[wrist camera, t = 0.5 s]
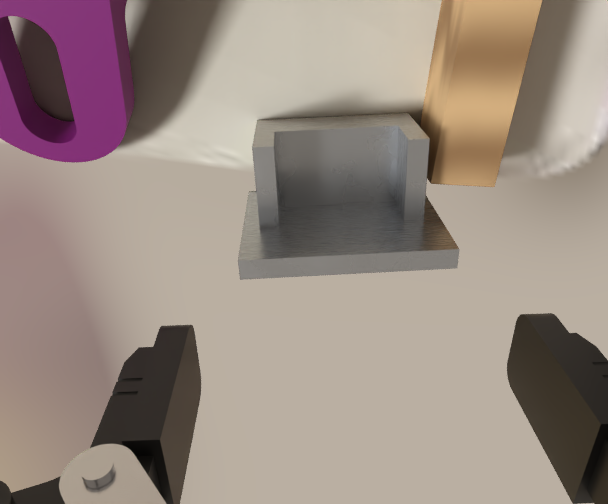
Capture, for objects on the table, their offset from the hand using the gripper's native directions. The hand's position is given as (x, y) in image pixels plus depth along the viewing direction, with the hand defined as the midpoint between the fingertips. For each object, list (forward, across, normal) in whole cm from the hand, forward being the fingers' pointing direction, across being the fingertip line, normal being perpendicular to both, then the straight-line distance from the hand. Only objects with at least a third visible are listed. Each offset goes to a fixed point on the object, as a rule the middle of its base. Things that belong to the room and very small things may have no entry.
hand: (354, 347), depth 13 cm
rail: (+25, -10, -4) cm, 27 cm away
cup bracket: (+24, -2, +4) cm, 25 cm away
